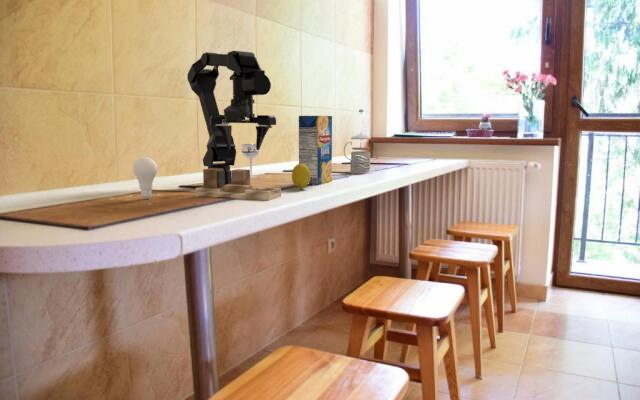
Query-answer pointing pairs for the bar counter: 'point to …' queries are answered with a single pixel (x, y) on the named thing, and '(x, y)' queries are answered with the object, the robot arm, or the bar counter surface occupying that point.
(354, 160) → the french press
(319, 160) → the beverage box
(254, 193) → the rail
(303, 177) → the lemon
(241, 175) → the beige cardboard cube
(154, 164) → the lightbulb
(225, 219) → the bar counter surface
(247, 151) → the wineglass
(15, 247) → the bar counter surface
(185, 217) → the bar counter surface
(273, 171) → the bar counter surface
